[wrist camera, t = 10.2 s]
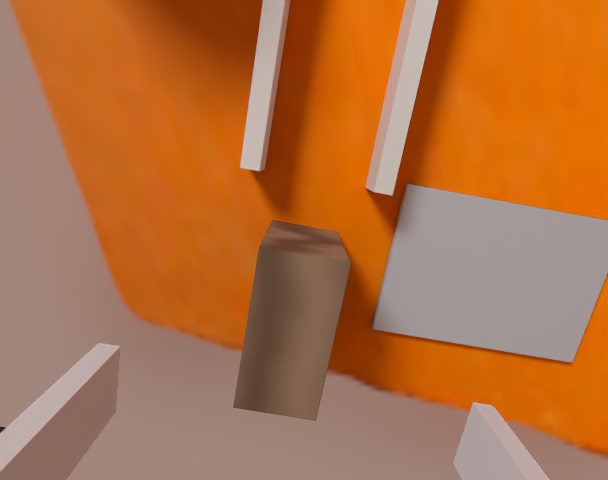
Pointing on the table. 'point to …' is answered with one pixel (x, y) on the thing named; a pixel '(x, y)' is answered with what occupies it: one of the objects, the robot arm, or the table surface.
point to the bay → (396, 99)
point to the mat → (492, 274)
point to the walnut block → (292, 320)
